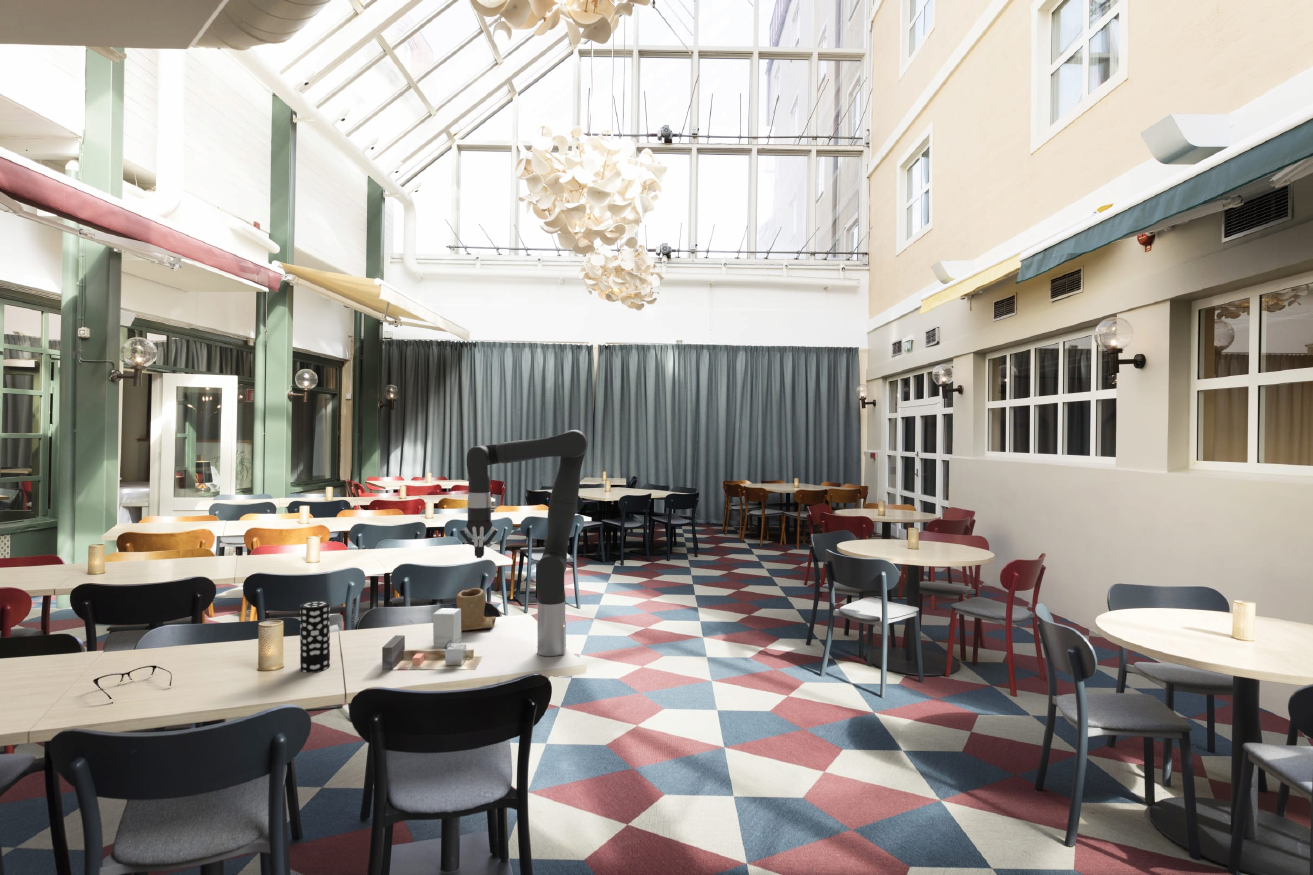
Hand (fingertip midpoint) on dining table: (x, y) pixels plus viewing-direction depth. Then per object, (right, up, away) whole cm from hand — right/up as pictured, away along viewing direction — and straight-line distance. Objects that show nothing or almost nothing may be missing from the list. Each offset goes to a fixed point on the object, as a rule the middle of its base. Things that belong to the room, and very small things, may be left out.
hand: (479, 557), depth 232 cm
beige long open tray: (-11, -32, -14) cm, 37 cm away
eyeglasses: (-91, -33, -32) cm, 102 cm away
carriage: (-4, -30, -13) cm, 34 cm away
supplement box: (-12, -32, +6) cm, 35 cm away
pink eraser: (-16, -31, -14) cm, 37 cm away
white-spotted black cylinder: (-48, -32, -14) cm, 59 cm away
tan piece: (-8, -32, +27) cm, 43 cm away
